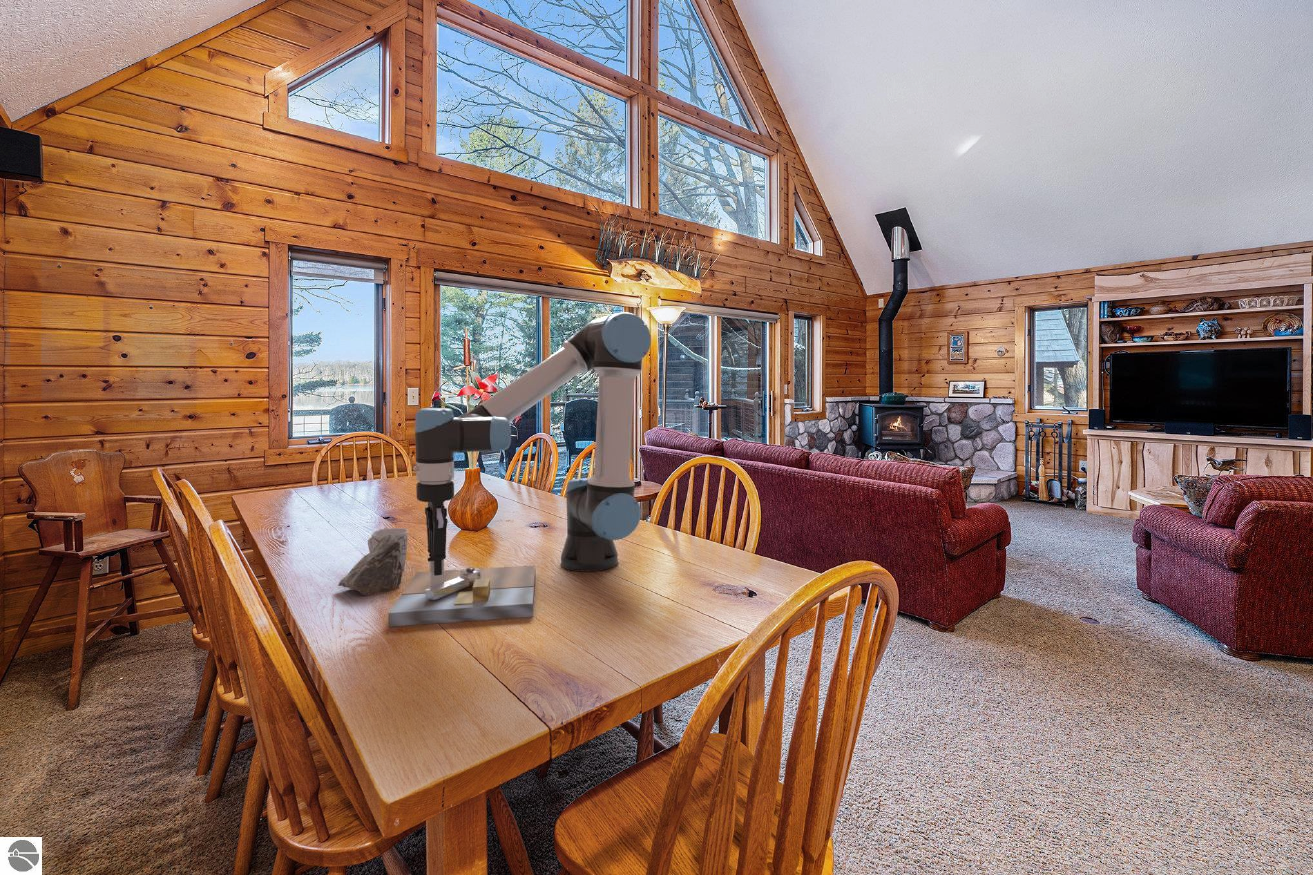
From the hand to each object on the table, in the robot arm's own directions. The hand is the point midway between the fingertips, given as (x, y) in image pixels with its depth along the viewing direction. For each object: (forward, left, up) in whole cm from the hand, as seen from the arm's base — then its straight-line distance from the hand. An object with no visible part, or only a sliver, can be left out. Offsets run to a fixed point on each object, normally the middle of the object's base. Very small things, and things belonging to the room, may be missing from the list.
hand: (437, 587), depth 128 cm
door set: (-7, -3, -4) cm, 8 cm away
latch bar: (-4, 0, -1) cm, 4 cm away
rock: (+18, -15, -4) cm, 23 cm away
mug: (+17, -28, -4) cm, 33 cm away
